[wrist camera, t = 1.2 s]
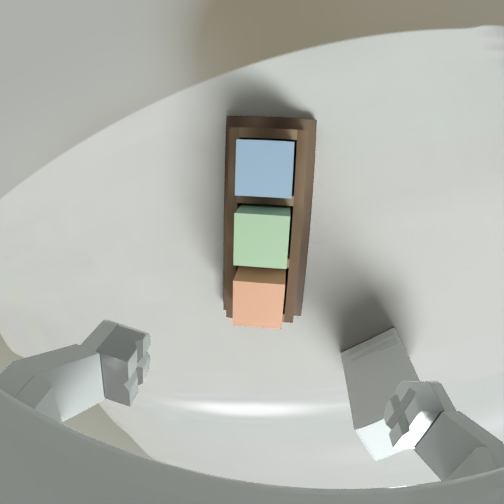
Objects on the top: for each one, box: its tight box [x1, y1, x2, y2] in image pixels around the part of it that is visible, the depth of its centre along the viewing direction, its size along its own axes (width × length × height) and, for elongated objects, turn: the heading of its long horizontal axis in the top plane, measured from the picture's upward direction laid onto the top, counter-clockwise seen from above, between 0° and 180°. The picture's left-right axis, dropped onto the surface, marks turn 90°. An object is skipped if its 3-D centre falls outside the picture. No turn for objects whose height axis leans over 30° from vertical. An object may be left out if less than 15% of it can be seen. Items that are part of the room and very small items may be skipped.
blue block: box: [235, 139, 294, 199], centre depth 29 cm, size 5×5×5 cm
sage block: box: [233, 204, 290, 269], centre depth 31 cm, size 5×5×5 cm
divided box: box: [224, 116, 317, 323], centre depth 35 cm, size 10×24×6 cm, turn 178°
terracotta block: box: [233, 266, 286, 329], centre depth 33 cm, size 5×5×5 cm
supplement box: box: [341, 327, 419, 461], centre depth 36 cm, size 9×9×15 cm
